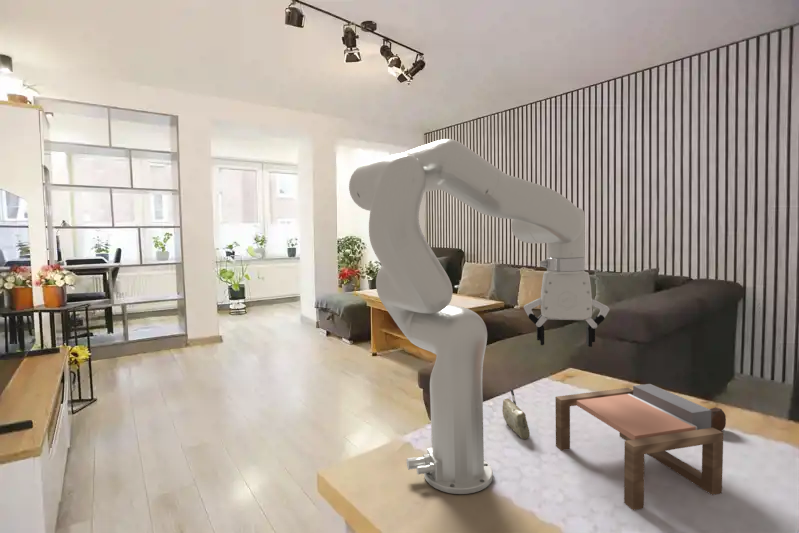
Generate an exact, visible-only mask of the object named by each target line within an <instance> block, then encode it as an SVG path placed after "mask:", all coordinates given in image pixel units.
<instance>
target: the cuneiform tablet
mask: <svg viewBox="0 0 799 533" xmlns="http://www.w3.org/2000/svg"><path fill="white" fill-rule="evenodd" d="M509 390H510V393H511V398H512V400H511V399H510V398H506V399H505V398H504V399H503V400H502V409H501V410H502V417H503V419H504V421H505V423H506V425H508V426H509V428H510V429H511V430H512V429H513V430H512V431H513V432H514V433H515V434H516V435H518V436H519V437H520V439H522V440H528V439H529V438H530V436H531V435H530V434H531V433H530V429H529V428H530V427H529V424H528V421H527V417H526V413H525V412H524V411H523V409H521V408H520V407H519V406H517V402H516V397H515V392H514V390H513V388H511V387H510V389H509Z"/></svg>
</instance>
